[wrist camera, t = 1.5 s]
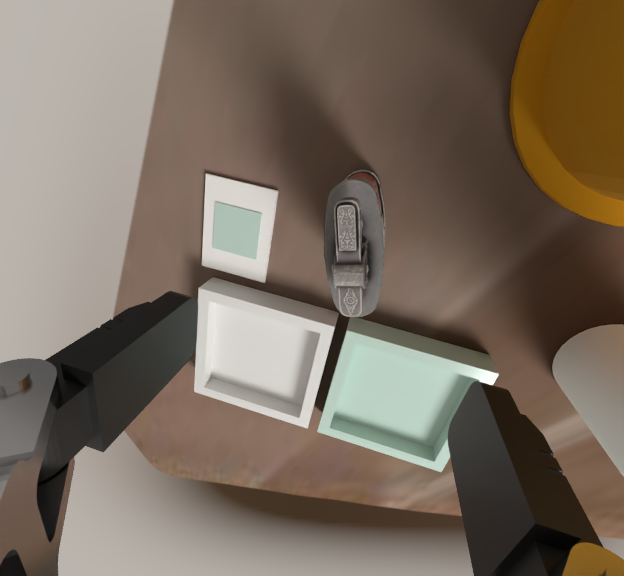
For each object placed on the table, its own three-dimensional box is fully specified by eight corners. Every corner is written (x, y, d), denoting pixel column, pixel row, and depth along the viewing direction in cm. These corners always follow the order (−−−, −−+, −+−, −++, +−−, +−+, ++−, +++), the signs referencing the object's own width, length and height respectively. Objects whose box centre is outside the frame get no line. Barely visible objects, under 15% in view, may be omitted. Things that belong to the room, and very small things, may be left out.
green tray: (350, 315, 28) (346, 330, 26) (489, 354, 27) (498, 374, 25) (322, 412, 33) (317, 431, 31) (437, 449, 32) (441, 472, 30)
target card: (207, 173, 26) (205, 173, 25) (278, 190, 25) (276, 191, 25) (203, 264, 29) (201, 265, 29) (265, 281, 29) (263, 283, 28)
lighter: (385, 273, 26) (383, 341, 17) (343, 273, 27) (321, 338, 18) (385, 167, 23) (384, 182, 14) (338, 171, 24) (308, 187, 15)
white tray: (212, 277, 30) (198, 287, 27) (339, 312, 28) (334, 327, 26) (206, 375, 35) (194, 391, 33) (312, 409, 34) (307, 428, 31)
